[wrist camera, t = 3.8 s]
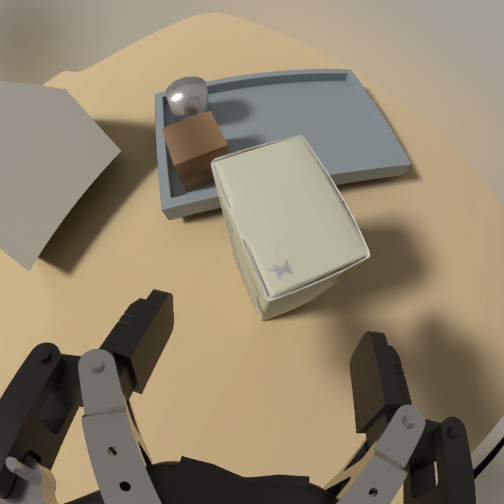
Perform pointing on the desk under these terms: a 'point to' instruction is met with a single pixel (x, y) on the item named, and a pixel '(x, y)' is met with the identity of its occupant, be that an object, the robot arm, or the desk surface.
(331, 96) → the blue-grey serving tray
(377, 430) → the robot arm
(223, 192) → the skincare box
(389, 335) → the desk surface
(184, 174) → the walnut block
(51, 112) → the slotted wedge
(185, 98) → the chrome dome knob
